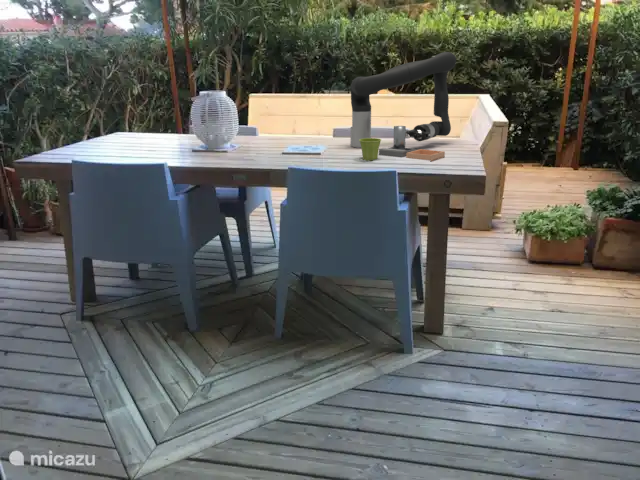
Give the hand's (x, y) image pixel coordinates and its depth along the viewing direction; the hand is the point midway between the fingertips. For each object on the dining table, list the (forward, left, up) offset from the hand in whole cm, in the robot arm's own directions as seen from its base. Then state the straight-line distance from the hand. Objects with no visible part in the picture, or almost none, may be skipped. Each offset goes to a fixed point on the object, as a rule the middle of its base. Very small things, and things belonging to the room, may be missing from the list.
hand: (406, 136), depth 247 cm
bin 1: (0, -7, -8) cm, 11 cm away
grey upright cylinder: (0, -6, -7) cm, 9 cm away
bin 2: (+14, -7, -8) cm, 18 cm away
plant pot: (-4, -23, -8) cm, 25 cm away
